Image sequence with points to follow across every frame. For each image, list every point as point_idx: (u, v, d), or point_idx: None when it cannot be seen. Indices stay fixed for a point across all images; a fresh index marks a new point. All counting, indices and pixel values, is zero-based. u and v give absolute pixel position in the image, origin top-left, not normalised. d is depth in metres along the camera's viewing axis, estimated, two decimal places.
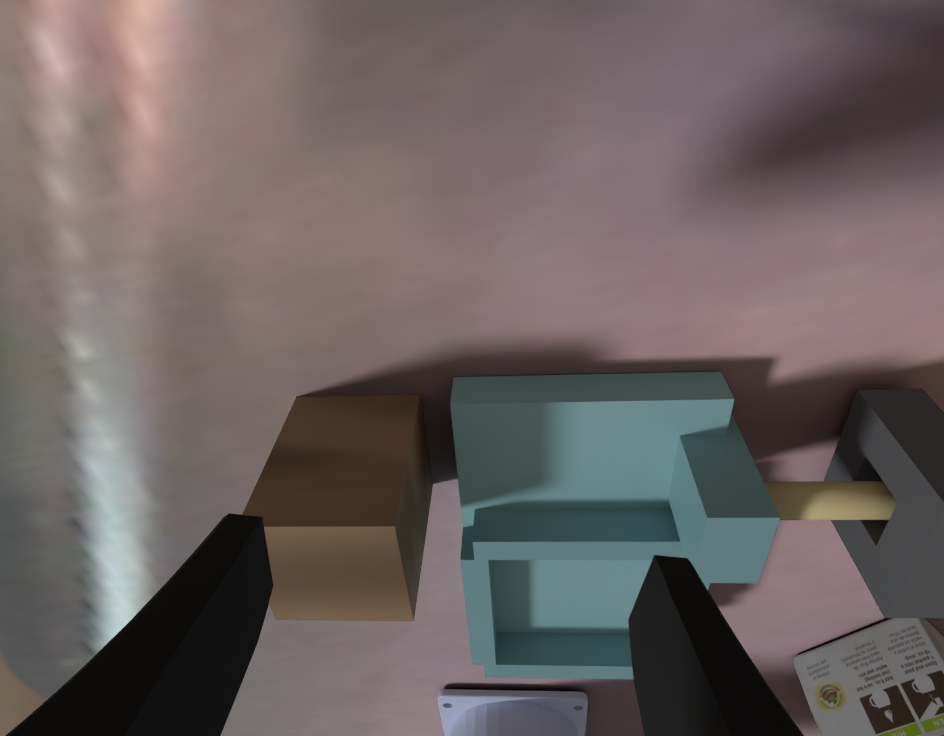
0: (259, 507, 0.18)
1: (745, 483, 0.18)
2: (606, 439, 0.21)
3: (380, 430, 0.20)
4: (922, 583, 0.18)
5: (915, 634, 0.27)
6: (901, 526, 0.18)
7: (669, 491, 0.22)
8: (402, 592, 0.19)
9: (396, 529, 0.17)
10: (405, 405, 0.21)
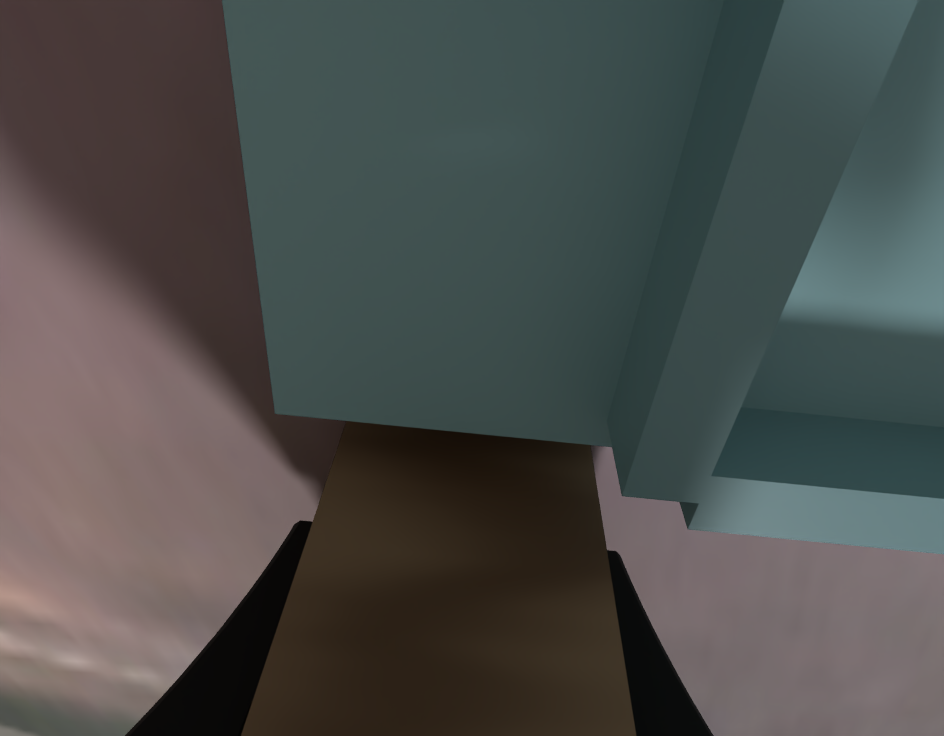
0: None
1: None
2: (382, 54, 0.06)
3: None
4: None
5: None
6: None
7: None
8: None
9: None
10: None
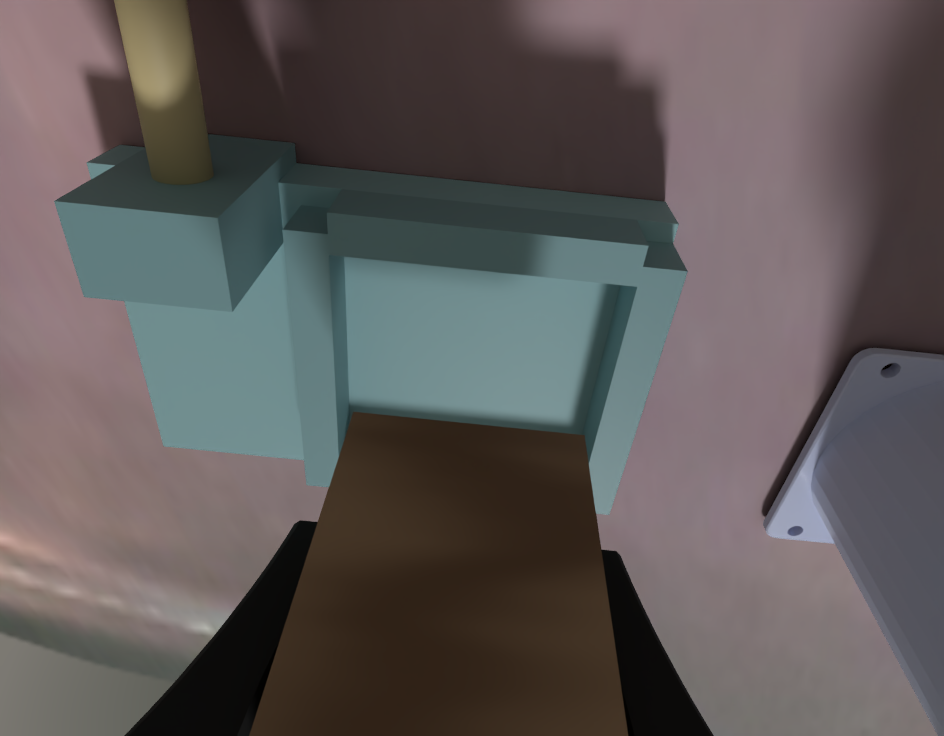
0: None
1: None
2: (186, 312, 0.17)
3: None
4: None
5: None
6: None
7: None
8: None
9: None
10: None
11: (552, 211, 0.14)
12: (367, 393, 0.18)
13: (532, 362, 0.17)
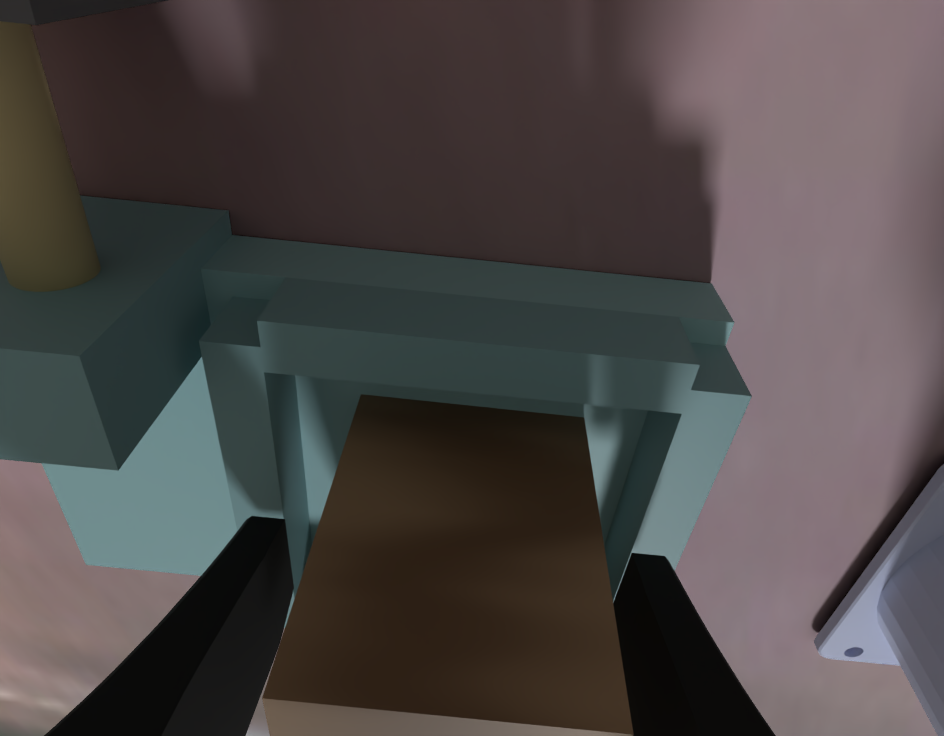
0: None
1: None
2: None
3: None
4: None
5: None
6: None
7: None
8: (507, 729, 0.08)
9: (287, 690, 0.07)
10: None
11: (566, 306, 0.11)
12: None
13: None
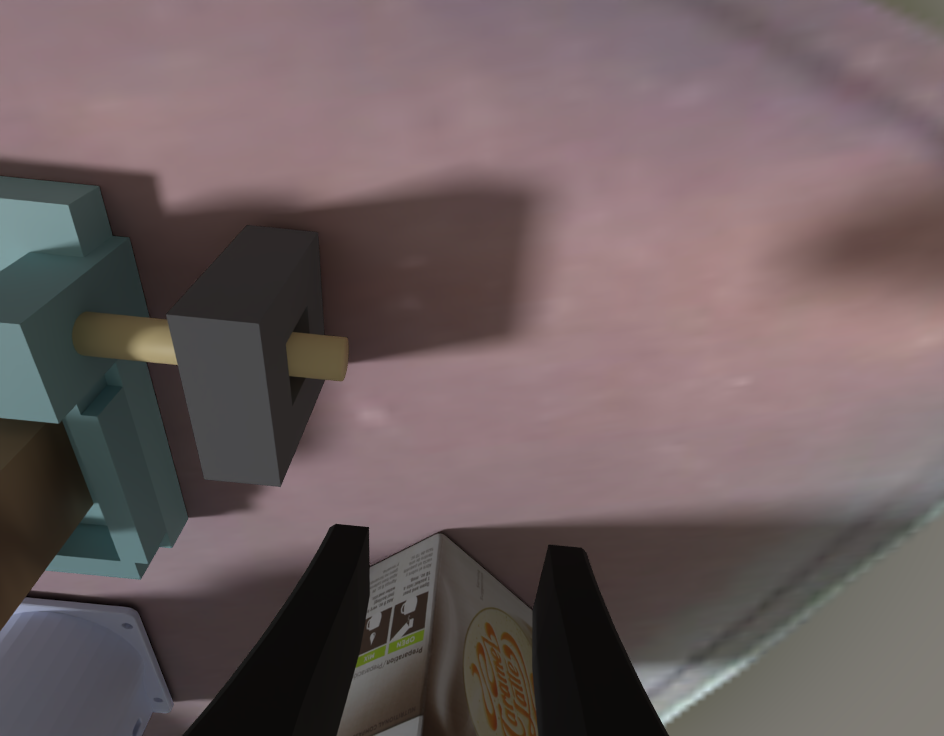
0: None
1: (31, 294, 0.15)
2: None
3: None
4: (214, 431, 0.15)
5: (428, 556, 0.24)
6: None
7: None
8: None
9: None
10: (32, 421, 0.20)
11: (155, 495, 0.22)
12: None
13: None
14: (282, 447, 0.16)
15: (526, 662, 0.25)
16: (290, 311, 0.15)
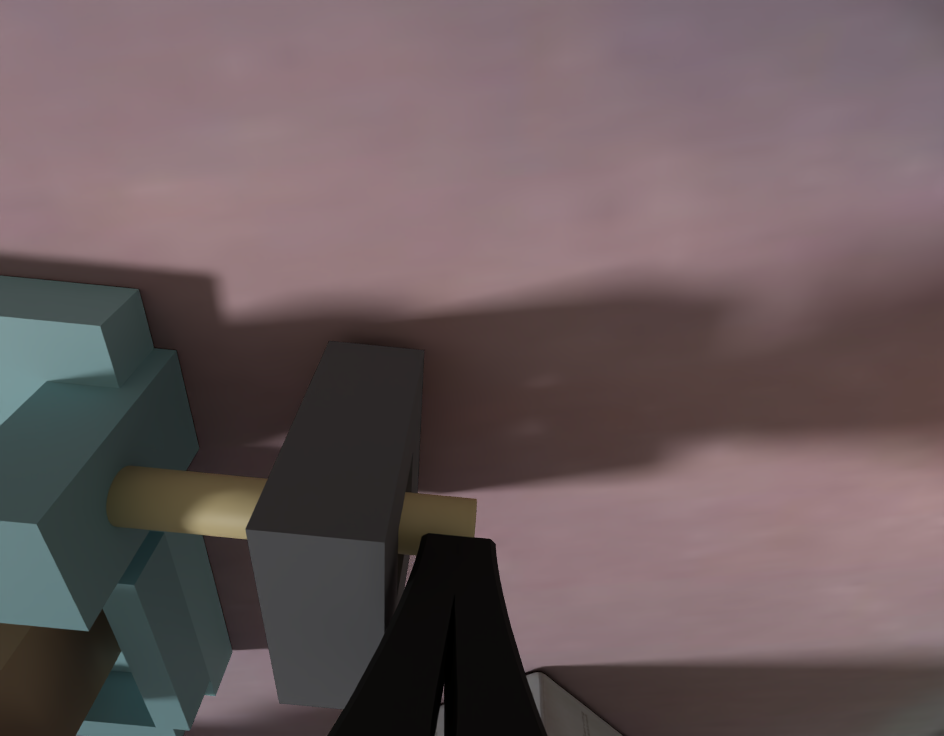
0: None
1: (51, 463, 0.11)
2: None
3: None
4: (299, 656, 0.11)
5: None
6: None
7: None
8: None
9: None
10: None
11: (198, 645, 0.18)
12: None
13: None
14: None
15: None
16: (403, 481, 0.11)
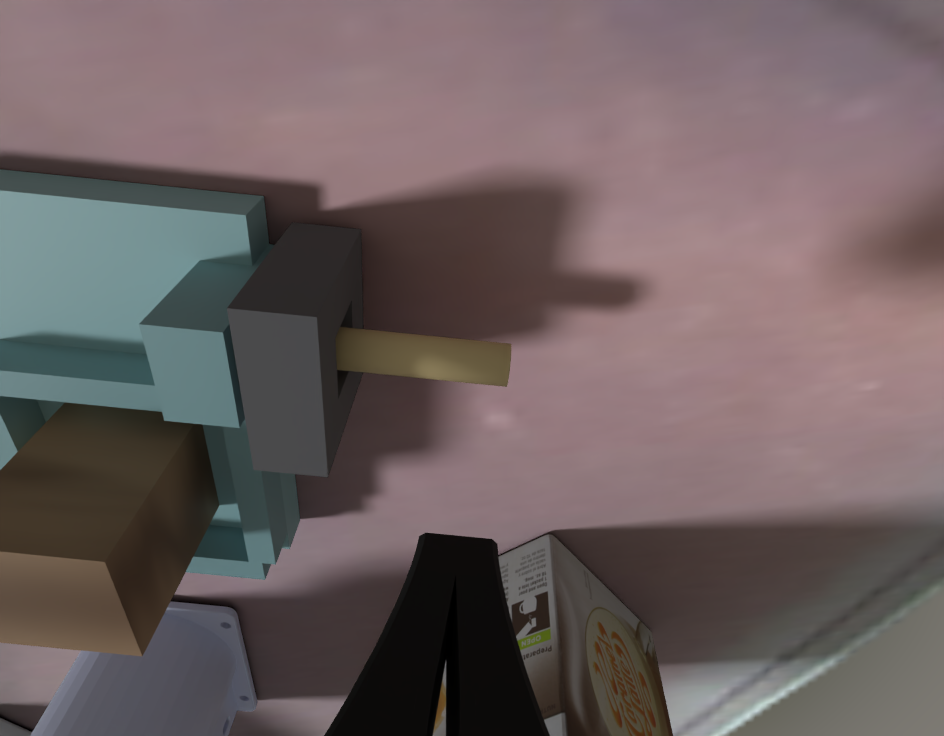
0: None
1: (220, 303, 0.16)
2: (116, 256, 0.17)
3: (138, 450, 0.19)
4: (266, 423, 0.16)
5: (541, 557, 0.25)
6: None
7: None
8: (124, 627, 0.18)
9: (109, 564, 0.16)
10: (178, 425, 0.20)
11: (282, 497, 0.23)
12: None
13: None
14: (330, 438, 0.16)
15: (633, 661, 0.26)
16: (339, 306, 0.16)
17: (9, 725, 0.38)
